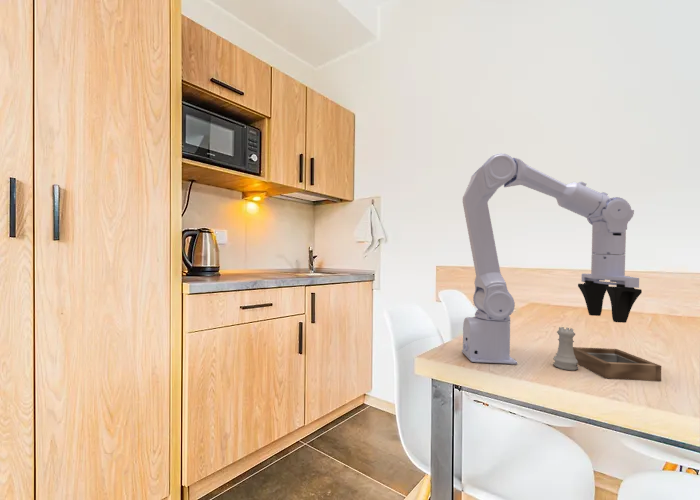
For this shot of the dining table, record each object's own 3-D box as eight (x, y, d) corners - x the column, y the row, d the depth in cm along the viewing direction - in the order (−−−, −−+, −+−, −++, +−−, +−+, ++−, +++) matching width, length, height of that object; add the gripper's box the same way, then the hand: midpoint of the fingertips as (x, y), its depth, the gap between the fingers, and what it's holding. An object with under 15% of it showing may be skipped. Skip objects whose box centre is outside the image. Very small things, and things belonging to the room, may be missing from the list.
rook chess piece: (582, 372, 67) (583, 331, 67) (557, 369, 68) (558, 330, 68) (572, 364, 71) (573, 327, 71) (549, 363, 72) (550, 325, 72)
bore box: (604, 378, 64) (605, 363, 64) (569, 359, 75) (569, 346, 75) (661, 380, 63) (661, 365, 63) (616, 361, 74) (616, 348, 74)
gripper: (656, 255, 65) (655, 326, 64) (604, 255, 79) (602, 313, 79) (617, 254, 65) (616, 324, 65) (572, 254, 79) (571, 312, 79)
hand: (606, 318), depth 72 cm, fingers open, 7 cm apart
